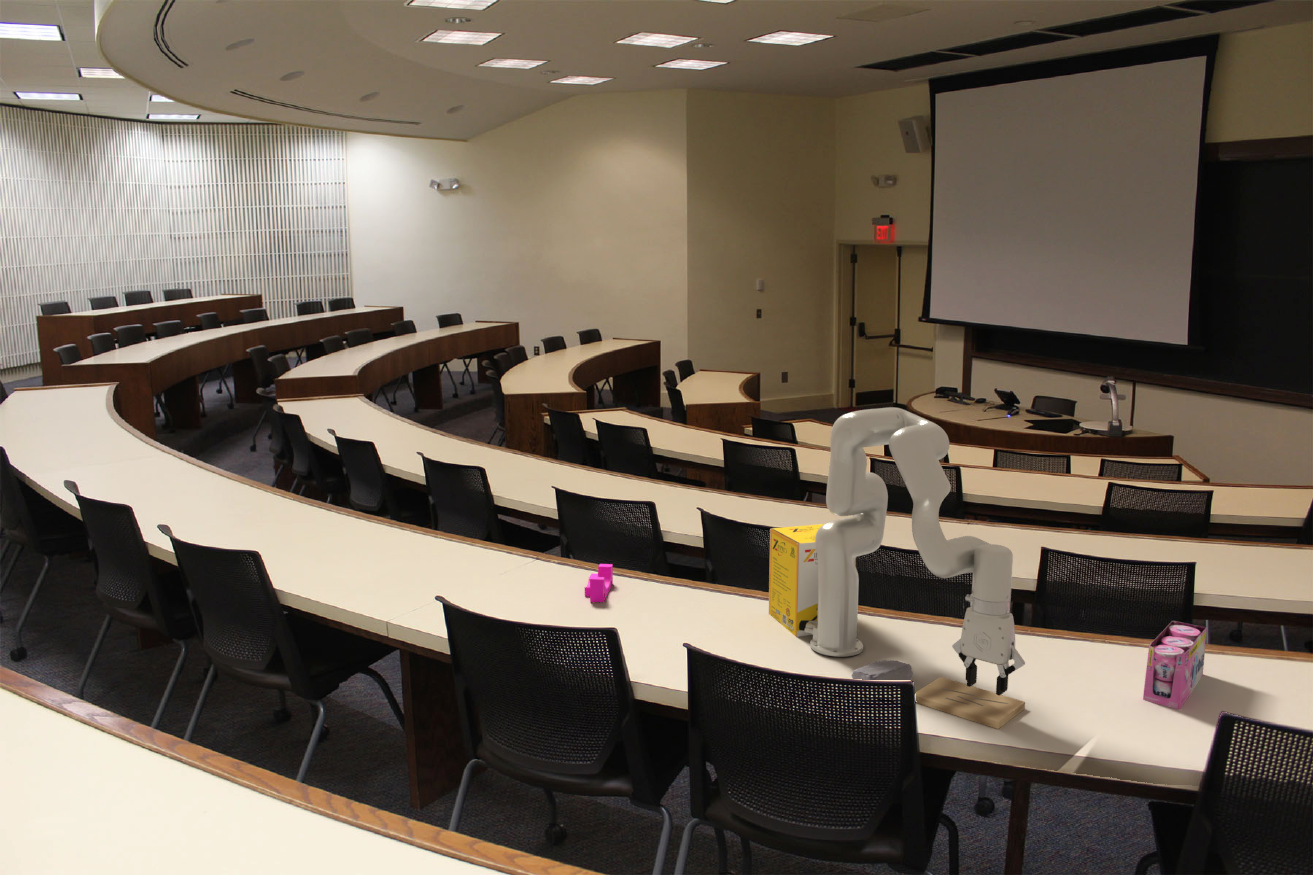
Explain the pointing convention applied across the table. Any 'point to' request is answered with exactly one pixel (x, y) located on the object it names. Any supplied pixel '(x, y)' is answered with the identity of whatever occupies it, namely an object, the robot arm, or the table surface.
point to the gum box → (1175, 664)
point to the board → (969, 702)
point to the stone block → (884, 671)
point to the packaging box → (794, 577)
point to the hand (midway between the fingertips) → (986, 688)
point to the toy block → (600, 583)
